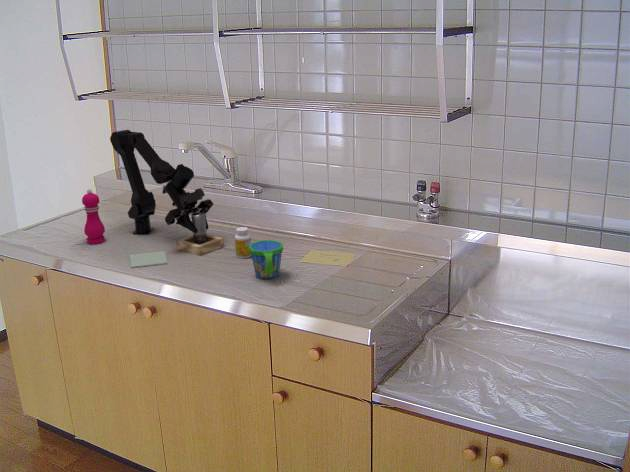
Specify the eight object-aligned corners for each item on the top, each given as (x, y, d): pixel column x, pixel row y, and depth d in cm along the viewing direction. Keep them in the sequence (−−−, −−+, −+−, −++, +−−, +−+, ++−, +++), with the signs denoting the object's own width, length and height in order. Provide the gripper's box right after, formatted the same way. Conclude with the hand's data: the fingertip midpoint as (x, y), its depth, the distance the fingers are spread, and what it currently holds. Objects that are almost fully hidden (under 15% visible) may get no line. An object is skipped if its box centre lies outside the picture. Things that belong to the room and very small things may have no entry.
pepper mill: (109, 238, 261) (102, 186, 254) (101, 245, 254) (94, 191, 248) (90, 238, 261) (83, 186, 255) (82, 244, 255) (75, 191, 248)
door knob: (194, 244, 251) (192, 211, 247) (211, 244, 251) (208, 211, 247) (190, 250, 246) (187, 216, 242) (207, 250, 245) (204, 216, 241)
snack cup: (285, 284, 214) (283, 252, 211) (250, 285, 213) (248, 254, 210) (283, 266, 229) (282, 236, 225) (251, 267, 228) (249, 238, 225)
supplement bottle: (232, 256, 239) (230, 229, 236) (244, 252, 243) (242, 225, 240) (243, 259, 235) (241, 232, 232) (255, 255, 239) (253, 228, 236)
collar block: (177, 249, 247) (176, 241, 246) (202, 240, 256) (201, 232, 255) (199, 255, 240) (199, 247, 239) (224, 246, 249) (224, 238, 248)
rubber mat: (129, 256, 241) (129, 255, 241) (165, 252, 244) (164, 251, 244) (130, 268, 230) (130, 266, 230) (167, 263, 233) (167, 262, 233)
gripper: (167, 188, 236) (191, 224, 233) (208, 177, 250) (231, 211, 247) (154, 206, 244) (178, 242, 240) (195, 195, 257) (217, 228, 254)
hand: (202, 230), depth 245 cm, fingers closed on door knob, 5 cm apart
